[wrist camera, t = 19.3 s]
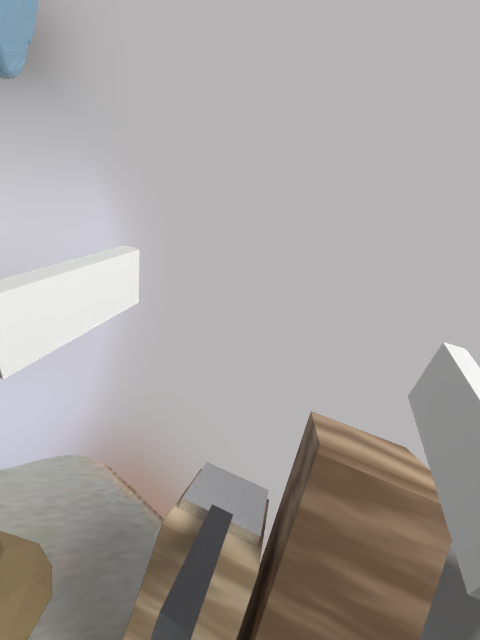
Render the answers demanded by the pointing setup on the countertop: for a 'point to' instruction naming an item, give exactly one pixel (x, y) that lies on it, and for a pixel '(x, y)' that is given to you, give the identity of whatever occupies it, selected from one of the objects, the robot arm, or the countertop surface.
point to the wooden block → (350, 543)
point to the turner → (209, 543)
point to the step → (224, 590)
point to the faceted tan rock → (22, 586)
